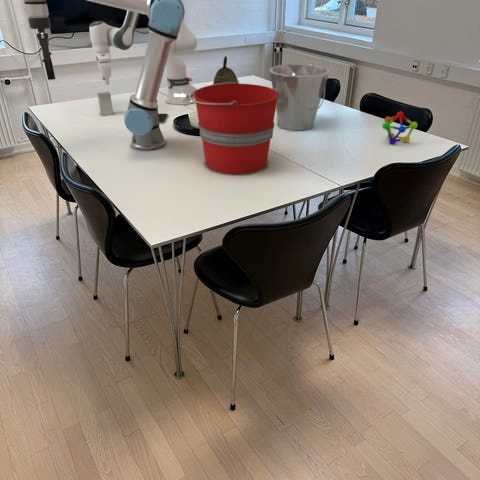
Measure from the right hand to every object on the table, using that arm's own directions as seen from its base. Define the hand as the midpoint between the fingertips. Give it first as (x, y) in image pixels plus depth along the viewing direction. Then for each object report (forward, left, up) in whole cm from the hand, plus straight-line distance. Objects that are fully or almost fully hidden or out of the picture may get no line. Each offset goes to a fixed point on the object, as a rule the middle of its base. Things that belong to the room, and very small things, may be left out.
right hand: (106, 82), depth 243 cm
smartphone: (-16, +28, -17) cm, 36 cm away
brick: (+3, +2, -17) cm, 17 cm away
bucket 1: (-13, +103, -17) cm, 105 cm away
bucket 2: (-70, +80, -17) cm, 107 cm away
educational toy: (-90, +128, -17) cm, 157 cm away
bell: (-73, +11, -17) cm, 76 cm away
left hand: (+42, +53, +17) cm, 70 cm away
